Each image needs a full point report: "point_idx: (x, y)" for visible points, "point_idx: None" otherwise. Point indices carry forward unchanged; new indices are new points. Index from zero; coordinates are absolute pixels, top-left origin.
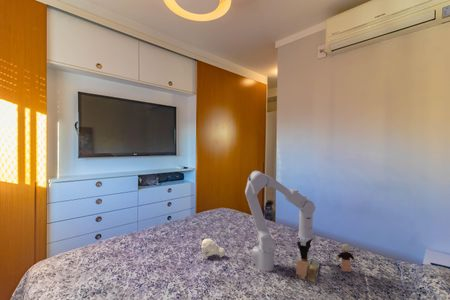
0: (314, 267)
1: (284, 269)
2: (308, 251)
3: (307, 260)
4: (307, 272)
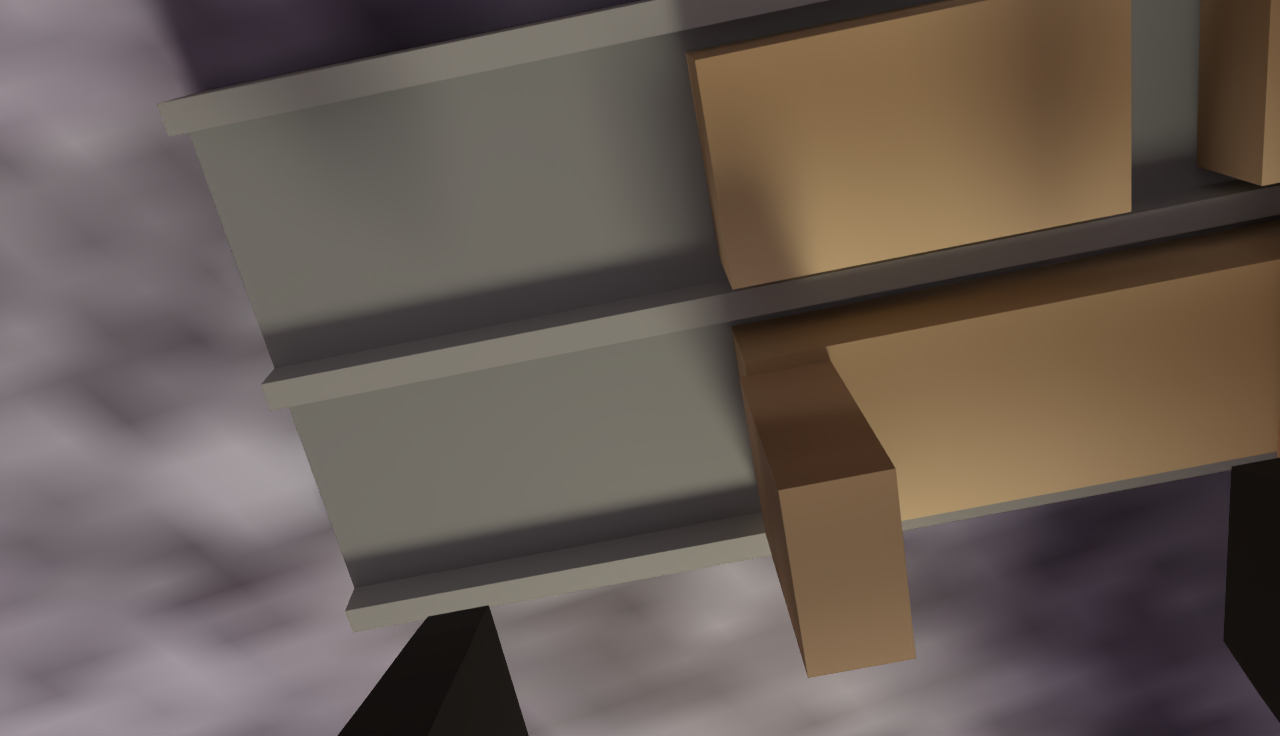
0: (887, 99)
1: (1127, 712)
2: (487, 620)
3: (823, 420)
4: (1190, 215)
